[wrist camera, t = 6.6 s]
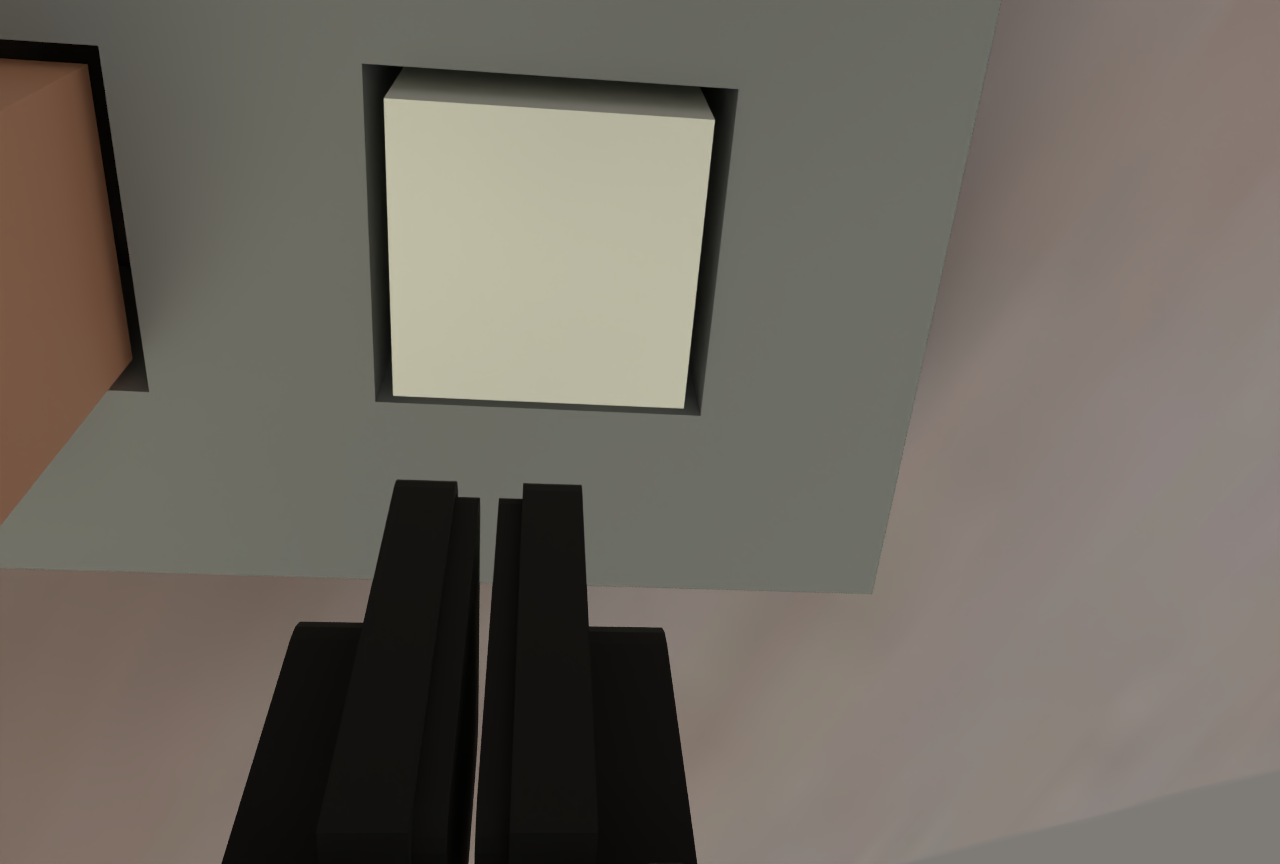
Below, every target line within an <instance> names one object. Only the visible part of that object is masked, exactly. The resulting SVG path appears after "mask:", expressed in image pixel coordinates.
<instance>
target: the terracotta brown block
mask: <svg viewBox="0 0 1280 864" xmlns="http://www.w3.org/2000/svg"><path fill="white" fill-rule="evenodd" d="M132 359H133V358H132V352H131V345H130V338H129V332H128V325H127V319H126V312H125V306H124V299H123V293H122V286H121V280H120V273H119V267H118V260H117V253H116V247H115V240H114V234H113V227H112V221H111V214H110V208H109V201H108V195H107V188H106V182H105V175H104V168H103V162H102V155H101V149H100V142H99V136H98V129H97V123H96V116H95V110H94V103H93V97H92V90H91V83H90V77H89V70H88V64H78V63H63V62H48V61H33V60H18V59H3V58H0V526H1V525H2V523H3V522H4V521H5V520H6V518H7V517H8V516H9V514H10V513H11V512H12V511H13V509H14V508H15V507H16V506H17V504H18V503H19V502H20V501H21V499H22V498H23V497H24V496H25V494H26V493H27V492H28V491H29V489H30V488H31V487H32V485H33V484H34V483H35V482H36V480H37V479H38V478H39V477H40V475H41V474H42V473H43V472H44V470H45V469H46V468H47V467H48V465H49V464H50V463H51V461H52V460H53V459H54V458H55V456H56V455H57V454H58V453H59V451H60V450H61V449H62V448H63V446H64V445H65V444H66V443H67V441H68V440H69V439H70V438H71V436H72V435H73V434H74V432H75V431H76V430H77V429H78V427H79V426H80V425H81V424H82V422H83V421H84V420H85V419H86V417H87V416H88V415H89V414H90V412H91V411H92V410H93V409H94V407H95V406H96V405H97V403H98V402H99V401H100V400H101V398H102V397H103V396H104V395H105V393H106V392H107V391H108V390H109V388H110V387H111V386H112V385H113V383H114V382H115V381H116V379H117V378H118V377H119V376H120V374H121V373H122V372H123V371H124V369H125V368H126V367H127V366H128V364H129V363H130V362H131V361H132Z"/></svg>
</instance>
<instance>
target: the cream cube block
mask: <svg viewBox="0 0 1280 864" xmlns="http://www.w3.org/2000/svg"><path fill="white" fill-rule="evenodd" d="M384 122H385V154H386V186H387V218H388V250H389V282H390V313H391V345H392V377H393V396H409V397H432V398H455V399H478V400H501V401H524V402H547V403H570V404H592V405H615V406H638V407H661V408H684V402H685V393H686V383H687V374H688V365H689V356H690V346H691V337H692V328H693V319H694V309H695V300H696V291H697V282H698V272H699V263H700V254H701V245H702V235H703V226H704V217H705V208H706V198H707V189H708V180H709V171H710V161H711V152H712V143H713V134H714V124H715V119H714V117H713V114H712V112H711V110H710V108H709V106H708V104H707V101H706V99H705V97H704V95H703V93H702V91H701V88H700V86H685V85H670V84H656V83H641V82H626V81H611V80H597V79H582V78H567V77H553V76H538V75H523V74H508V73H494V72H479V71H464V70H449V69H435V68H420V67H405V66H404V67H403V69H402V71H401V72H400V74H399V75H398V77H397V78H396V80H395V81H394V83H393V85H392V86H391V88H390V89H389V91H388V92H387V94H386V95H385V97H384Z"/></svg>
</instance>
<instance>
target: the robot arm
mask: <svg viewBox="0 0 1280 864" xmlns="http://www.w3.org/2000/svg"><path fill="white" fill-rule="evenodd" d="M479 596H480V498H479V497H458V484H457V481H435V480H400V479H397V480H396V482H395V485H394V489H393V493H392V498H391V502H390V506H389V511H388V515H387V520H386V524H385V529H384V533H383V538H382V542H381V546H380V551H379V555H378V560H377V564H376V569H375V573H374V578H373V582H372V586H371V591H370V595H369V600H368V604H367V609H366V613H365V618H364V622H363V623H346V622H299V623H298V624H297V626H296V627H295V629H294V631H293V634H292V636H291V639H290V642H289V645H288V649H287V652H286V655H285V658H284V662H283V665H282V668H281V671H280V675H279V678H278V681H277V685H276V688H275V691H274V694H273V698H272V701H271V704H270V707H269V711H268V714H267V717H266V720H265V724H264V727H263V730H262V733H261V737H260V740H259V743H258V746H257V750H256V753H255V756H254V759H253V763H252V766H251V769H250V772H249V776H248V779H247V782H246V786H245V789H244V792H243V795H242V799H241V802H240V805H239V808H238V812H237V815H236V818H235V821H234V825H233V828H232V831H231V834H230V838H229V841H228V844H227V847H226V851H225V854H224V857H223V860H222V864H468V862H469V849H470V836H471V823H472V810H473V797H474V783H475V770H476V757H477V739H478V691H479ZM475 864H697V858H696V851H695V844H694V836H693V829H692V822H691V815H690V807H689V800H688V793H687V786H686V778H685V771H684V764H683V757H682V750H681V742H680V735H679V728H678V721H677V713H676V706H675V699H674V692H673V684H672V677H671V670H670V663H669V655H668V648H667V642H666V637H665V632H664V630H663V629H662V628H649V627H589V622H588V601H587V579H586V558H585V537H584V516H583V494H582V485H573V484H539V483H523V498H522V499H516V498H499V503H498V517H497V531H496V545H495V558H494V572H493V586H492V600H491V614H490V628H489V642H488V656H487V669H486V683H485V697H484V711H483V725H482V739H481V753H480V766H479V780H478V795H477V811H476V833H475Z"/></svg>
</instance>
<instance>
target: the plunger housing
mask: <svg viewBox="0 0 1280 864" xmlns="http://www.w3.org/2000/svg"><path fill="white" fill-rule="evenodd" d="M1001 1H1002V0H0V39H8V40H22V41H37V42H52V43H67V44H81V45H96V46H98V48H99V54H100V61H101V68H102V75H103V81H104V88H105V95H106V102H107V109H108V115H109V122H110V129H111V136H112V142H113V149H114V156H115V163H116V170H117V176H118V183H119V190H120V197H121V204H122V210H123V217H124V224H125V231H126V237H127V244H128V251H129V258H130V265H131V267H130V266H118V267H119V273H120V280H121V286H122V293H123V299H124V306H125V312H126V319H127V325H128V332H129V338H130V345H131V352H132V358H133V359H132V361H131V362H130V363H129V364H128V366H127V367H126V368H125V369H124V371H123V372H122V373H121V374H120V376H119V377H118V378H117V379H116V381H115V382H114V383H113V385H112V386H111V387H110V388H109V390H108V391H107V392H106V393H105V395H104V396H103V397H102V398H101V400H100V401H99V402H98V403H97V405H96V406H95V407H94V409H93V410H92V411H91V412H90V414H89V415H88V416H87V417H86V419H85V420H84V421H83V422H82V424H81V425H80V426H79V427H78V429H77V430H76V431H75V432H74V434H73V435H72V436H71V438H70V439H69V440H68V441H67V443H66V444H65V445H64V446H63V448H62V449H61V450H60V451H59V453H58V454H57V455H56V456H55V458H54V459H53V460H52V461H51V463H50V464H49V465H48V467H47V468H46V469H45V470H44V472H43V473H42V474H41V475H40V477H39V478H38V479H37V480H36V482H35V483H34V484H33V485H32V487H31V488H30V489H29V491H28V492H27V493H26V494H25V496H24V497H23V498H22V499H21V501H20V502H19V503H18V504H17V506H16V507H15V508H14V509H13V511H12V512H11V513H10V514H9V516H8V517H7V518H6V520H5V521H4V522H3V523H2V525H1V526H0V568H16V569H49V570H82V571H115V572H149V573H182V574H215V575H248V576H281V577H315V578H348V579H373V578H374V573H375V569H376V564H377V560H378V555H379V551H380V546H381V542H382V538H383V533H384V529H385V524H386V520H387V515H388V511H389V506H390V502H391V498H392V493H393V489H394V485H395V482H396V480H397V479H400V480H435V481H457V484H458V497H479V498H480V582H481V583H493V572H494V558H495V545H496V531H497V517H498V503H499V498H516V499H522V498H523V483H539V484H573V485H582V494H583V516H584V537H585V558H586V579H587V586H614V587H647V588H680V589H714V590H747V591H780V592H813V593H846V594H872V592H873V588H874V583H875V579H876V574H877V570H878V565H879V560H880V556H881V551H882V547H883V542H884V537H885V533H886V528H887V524H888V519H889V514H890V510H891V505H892V501H893V496H894V492H895V487H896V482H897V478H898V473H899V469H900V464H901V459H902V455H903V450H904V446H905V441H906V437H907V432H908V427H909V423H910V418H911V414H912V409H913V404H914V400H915V395H916V391H917V386H918V381H919V377H920V372H921V368H922V363H923V359H924V354H925V349H926V345H927V340H928V336H929V331H930V326H931V322H932V317H933V313H934V308H935V304H936V299H937V294H938V290H939V285H940V281H941V276H942V271H943V267H944V262H945V258H946V253H947V248H948V244H949V239H950V235H951V230H952V226H953V221H954V216H955V212H956V207H957V203H958V198H959V193H960V189H961V184H962V180H963V175H964V171H965V166H966V161H967V157H968V152H969V148H970V143H971V138H972V134H973V129H974V125H975V120H976V115H977V111H978V106H979V102H980V97H981V93H982V88H983V83H984V79H985V74H986V70H987V65H988V60H989V56H990V51H991V47H992V42H993V38H994V33H995V28H996V24H997V19H998V15H999V10H1000V5H1001ZM404 66H405V67H420V68H435V69H449V70H464V71H479V72H494V73H508V74H523V75H538V76H553V77H567V78H582V79H597V80H611V81H626V82H641V83H656V84H670V85H685V86H700V88H701V91H702V93H703V95H704V97H705V99H706V101H707V104H708V106H709V108H710V110H711V112H712V114H713V117H714V119H715V124H714V134H713V143H712V152H711V161H710V171H709V180H708V189H707V198H706V208H705V217H704V226H703V235H702V245H701V254H700V263H699V272H698V282H697V291H696V300H695V309H694V319H693V328H692V337H691V346H690V356H689V365H688V374H687V383H686V393H685V402H684V408H661V407H638V406H615V405H592V404H570V403H547V402H524V401H501V400H478V399H455V398H432V397H409V396H393V377H392V345H391V313H390V282H389V250H388V218H387V186H386V154H385V122H384V97H385V95H386V94H387V92H388V91H389V89H390V88H391V86H392V85H393V83H394V81H395V80H396V78H397V77H398V75H399V74H400V72H401V71H402V69H403V67H404Z"/></svg>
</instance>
